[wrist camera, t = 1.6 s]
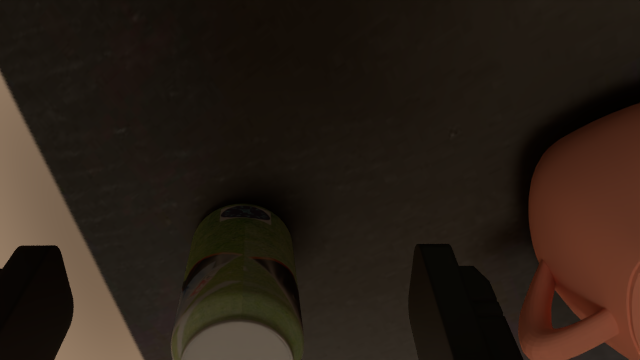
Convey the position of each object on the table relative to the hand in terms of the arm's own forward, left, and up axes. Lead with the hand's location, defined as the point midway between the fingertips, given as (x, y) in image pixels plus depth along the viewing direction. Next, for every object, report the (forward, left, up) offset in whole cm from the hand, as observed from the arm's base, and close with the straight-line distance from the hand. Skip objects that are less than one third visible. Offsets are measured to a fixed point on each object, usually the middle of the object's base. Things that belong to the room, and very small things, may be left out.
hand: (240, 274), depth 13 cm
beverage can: (+7, -10, -19) cm, 23 cm away
